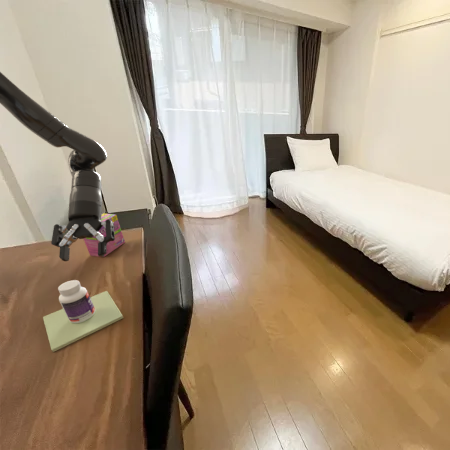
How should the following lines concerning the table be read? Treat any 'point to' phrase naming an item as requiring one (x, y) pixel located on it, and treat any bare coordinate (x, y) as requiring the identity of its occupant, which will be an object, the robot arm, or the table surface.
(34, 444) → the table surface
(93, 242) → the box
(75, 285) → the pill bottle
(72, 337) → the notepad
